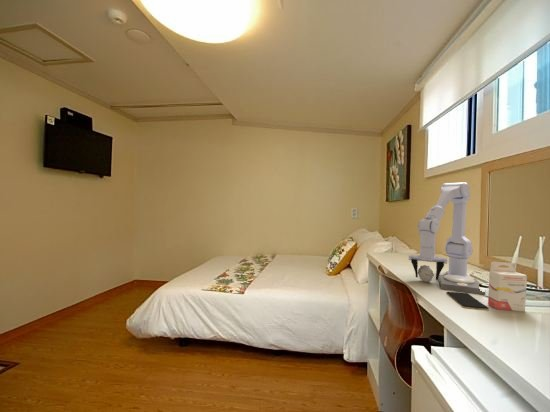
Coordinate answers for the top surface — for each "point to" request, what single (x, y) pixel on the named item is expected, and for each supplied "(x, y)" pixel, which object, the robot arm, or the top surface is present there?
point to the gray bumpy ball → (425, 273)
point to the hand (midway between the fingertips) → (426, 278)
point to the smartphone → (467, 301)
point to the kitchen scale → (459, 283)
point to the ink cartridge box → (506, 287)
